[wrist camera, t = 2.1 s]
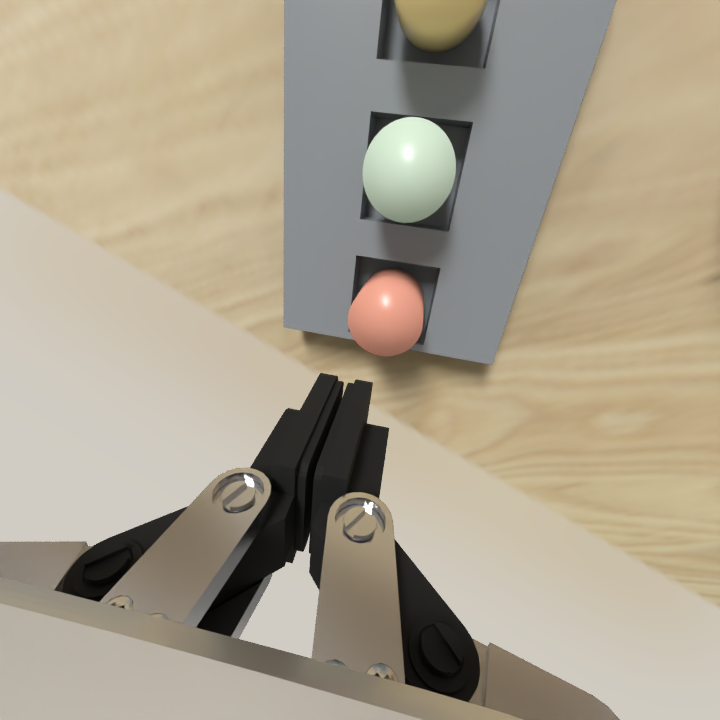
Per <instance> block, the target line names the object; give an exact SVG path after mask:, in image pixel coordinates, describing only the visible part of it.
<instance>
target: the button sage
mask: <svg viewBox="0 0 720 720" xmlns="http://www.w3.org/2000/svg"><path fill="white" fill-rule="evenodd" d="M455 174H456V159H455V153H454V149H453V147H452V144H451V142H450V140H449V138H448V137H447V135H446V134H445V132H444V131H443V130H442V129H441V128H440V127H439V126H437V125H436V124H435V123H433V122H431V121H429V120H426V119H424V118H419V117H406V118H402V119H398V120H396V121H393V122H391V123H390V124H388V125H387V126H385V127H384V128H383V129H382V130H381V131H380V132H379V133H378V134H377V135H376V136H375V137H374V139H373V140H372V142H371V144H370V145H369V147H368V150H367V152H366V155H365V159H364V163H363V184H364V188H365V192H366V194H367V197H368V199H369V201H370V202H371V204H372V205H373V207H374V208H375V209H376V210H377V211H378V212H379V213H380V214H382V215H383V216H384V217H386V218H388V219H390V220H393V221H396V222H401V223H411V222H416V221H420V220H422V219H425V218H427V217H429V216H430V215H431V214H433V213H434V212H435V211H437V210H438V209H439V208H440V207H441V205H442V204H443V203H444V202H445V200H446V199H447V197H448V195H449V193H450V191H451V189H452V186H453V183H454V180H455Z"/></svg>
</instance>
